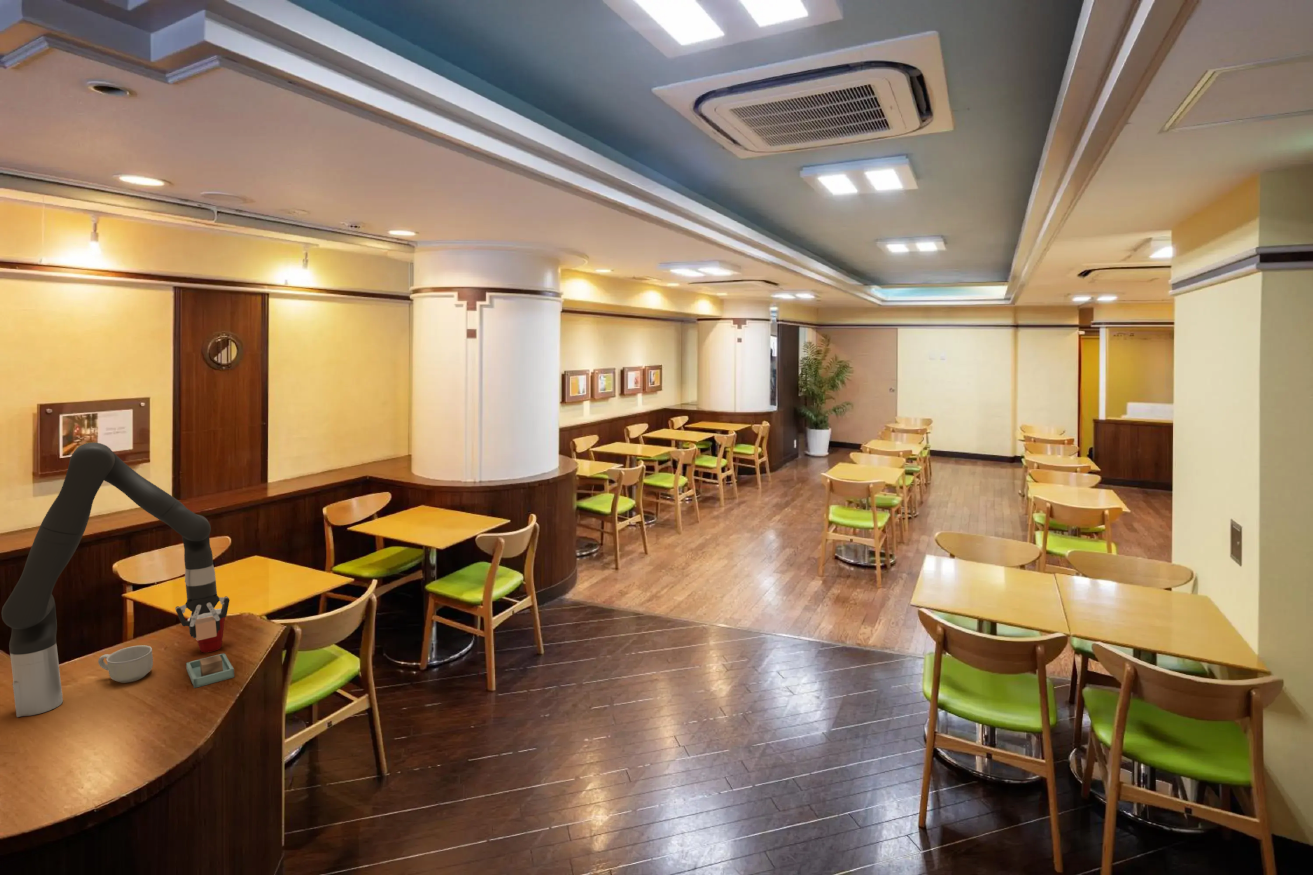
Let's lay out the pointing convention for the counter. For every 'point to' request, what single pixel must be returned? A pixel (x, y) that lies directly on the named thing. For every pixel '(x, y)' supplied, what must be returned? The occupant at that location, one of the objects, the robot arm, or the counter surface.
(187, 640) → the counter surface
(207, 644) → the plastic cup
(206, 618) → the terracotta cube
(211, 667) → the walnut cube
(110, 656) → the teacup
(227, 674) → the tray
